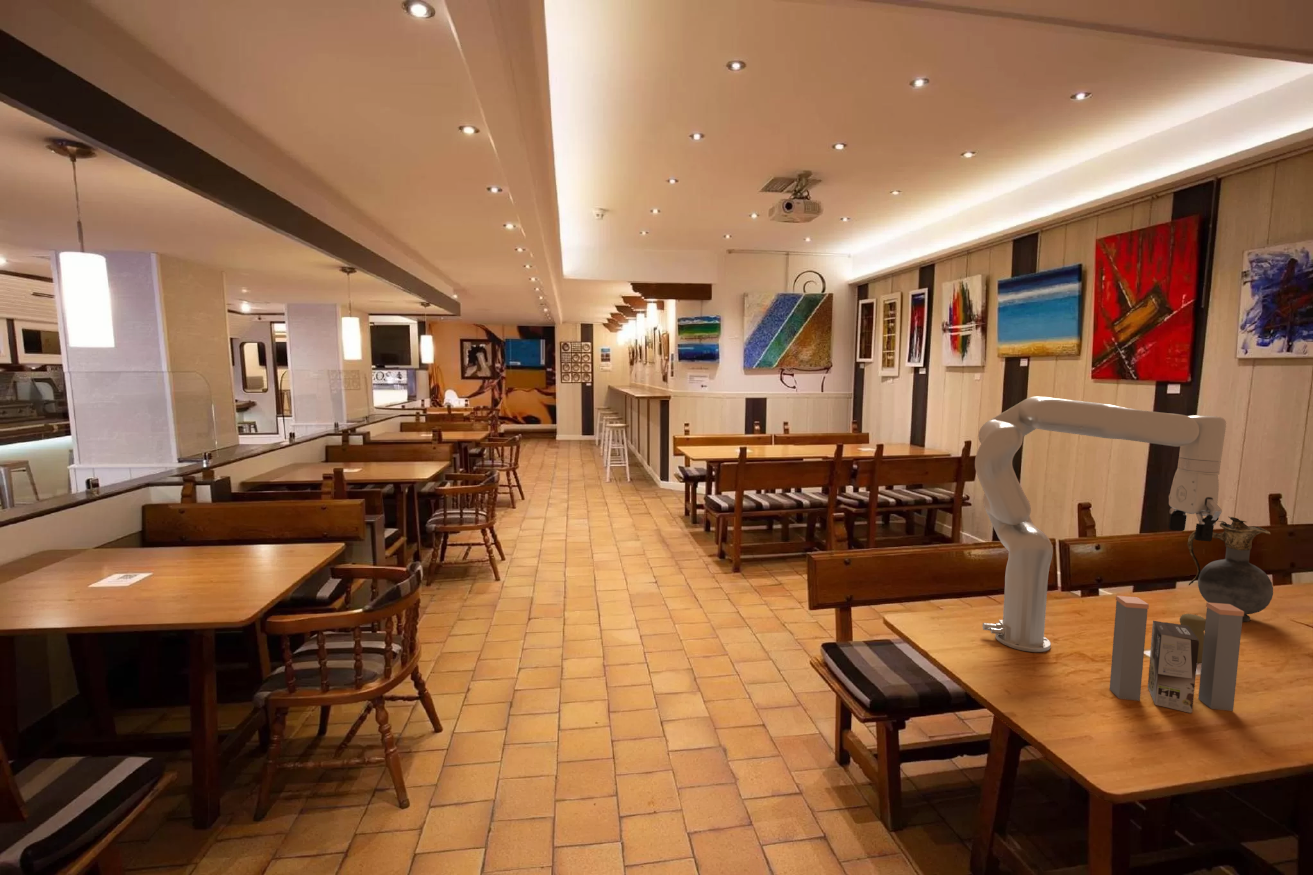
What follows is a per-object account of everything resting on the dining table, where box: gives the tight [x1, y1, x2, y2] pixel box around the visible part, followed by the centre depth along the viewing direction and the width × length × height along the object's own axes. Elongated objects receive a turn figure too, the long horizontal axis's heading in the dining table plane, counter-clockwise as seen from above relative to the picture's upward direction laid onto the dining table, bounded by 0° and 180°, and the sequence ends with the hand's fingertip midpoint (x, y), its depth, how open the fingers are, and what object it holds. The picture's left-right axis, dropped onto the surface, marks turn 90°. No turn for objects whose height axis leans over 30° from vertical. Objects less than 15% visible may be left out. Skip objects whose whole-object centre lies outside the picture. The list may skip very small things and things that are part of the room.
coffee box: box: [1147, 620, 1200, 714], centre depth 127 cm, size 9×6×16 cm
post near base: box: [1109, 595, 1150, 702], centre depth 129 cm, size 4×4×22 cm
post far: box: [1197, 601, 1244, 712], centre depth 125 cm, size 4×4×22 cm
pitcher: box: [1186, 516, 1274, 623], centre depth 172 cm, size 11×19×30 cm, turn 32°
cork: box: [1179, 613, 1206, 664], centre depth 147 cm, size 6×6×11 cm
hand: (1189, 535), depth 143 cm, fingers open, 9 cm apart
